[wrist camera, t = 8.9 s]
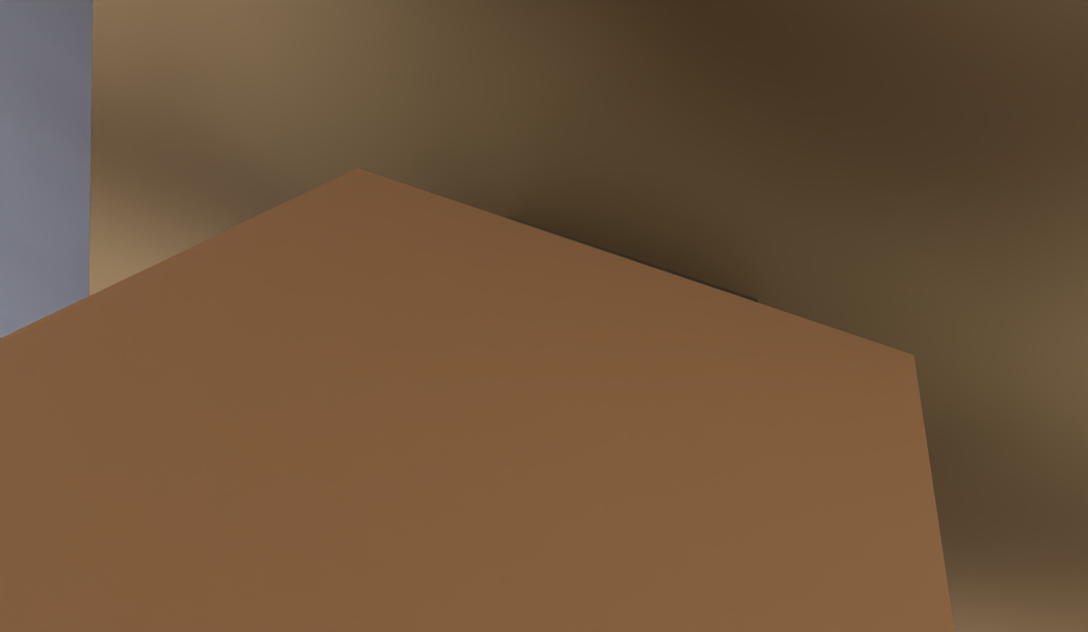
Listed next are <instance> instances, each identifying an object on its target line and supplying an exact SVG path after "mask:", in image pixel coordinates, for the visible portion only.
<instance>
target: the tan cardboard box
mask: <svg viewBox="0 0 1088 632" xmlns="http://www.w3.org/2000/svg"><path fill="white" fill-rule="evenodd" d="M0 632H955V630H954V624H953V617H952V610H951V603H950V596H949V590H948V583H947V576H946V569H945V562H944V556H943V549H942V542H941V535H940V528H939V522H938V515H937V508H936V501H935V494H934V488H933V481H932V474H931V467H930V460H929V454H928V447H927V440H926V433H925V426H924V420H923V413H922V406H921V399H920V392H919V385H918V379H917V372H916V365H915V358H914V355H912V354H909V353H906V352H903V351H900V350H897V349H894V348H891V347H888V346H885V345H882V344H879V343H876V342H873V341H871V340H868V339H865V338H862V337H859V336H856V335H853V334H850V333H847V332H844V331H841V330H838V329H835V328H832V327H829V326H826V325H823V324H820V323H817V322H814V321H811V320H808V319H805V318H802V317H799V316H796V315H793V314H790V313H787V312H784V311H781V310H778V309H775V308H772V307H769V306H766V305H763V304H760V303H757V302H754V301H752V300H749V299H746V298H743V297H740V296H737V295H734V294H731V293H728V292H725V291H722V290H719V289H716V288H713V287H710V286H707V285H704V284H701V283H698V282H695V281H692V280H689V279H686V278H683V277H680V276H677V275H674V274H671V273H668V272H665V271H662V270H659V269H656V268H653V267H650V266H647V265H644V264H641V263H638V262H635V261H633V260H630V259H627V258H624V257H621V256H618V255H615V254H612V253H609V252H606V251H603V250H600V249H597V248H594V247H591V246H588V245H585V244H582V243H579V242H576V241H573V240H570V239H567V238H564V237H561V236H558V235H555V234H552V233H549V232H546V231H543V230H540V229H537V228H534V227H531V226H528V225H525V224H522V223H519V222H516V221H514V220H511V219H508V218H505V217H502V216H499V215H496V214H493V213H490V212H487V211H484V210H481V209H478V208H475V207H472V206H469V205H466V204H463V203H460V202H457V201H454V200H451V199H448V198H445V197H442V196H439V195H436V194H433V193H430V192H427V191H424V190H421V189H418V188H415V187H412V186H409V185H406V184H403V183H400V182H397V181H395V180H392V179H389V178H386V177H383V176H380V175H377V174H374V173H371V172H368V171H365V170H362V169H359V168H356V169H354V170H352V171H350V172H348V173H346V174H344V175H342V176H340V177H338V178H336V179H333V180H331V181H329V182H327V183H325V184H323V185H321V186H319V187H317V188H315V189H312V190H310V191H308V192H306V193H304V194H302V195H300V196H298V197H296V198H294V199H292V200H289V201H287V202H285V203H283V204H281V205H279V206H277V207H275V208H273V209H271V210H269V211H266V212H264V213H262V214H260V215H258V216H256V217H254V218H252V219H250V220H248V221H246V222H243V223H241V224H239V225H237V226H235V227H233V228H231V229H229V230H227V231H225V232H222V233H220V234H218V235H216V236H214V237H212V238H210V239H208V240H206V241H204V242H202V243H199V244H197V245H195V246H193V247H191V248H189V249H187V250H185V251H183V252H181V253H179V254H176V255H174V256H172V257H170V258H168V259H166V260H164V261H162V262H160V263H158V264H155V265H153V266H151V267H149V268H147V269H145V270H143V271H141V272H139V273H137V274H135V275H132V276H130V277H128V278H126V279H124V280H122V281H120V282H118V283H116V284H114V285H112V286H109V287H107V288H105V289H103V290H101V291H99V292H97V293H95V294H93V295H91V296H89V297H86V298H84V299H82V300H80V301H78V302H76V303H74V304H72V305H70V306H68V307H65V308H63V309H61V310H59V311H57V312H55V313H53V314H51V315H49V316H47V317H45V318H42V319H40V320H38V321H36V322H34V323H32V324H30V325H28V326H26V327H24V328H22V329H19V330H17V331H15V332H13V333H11V334H9V335H7V336H5V337H3V338H1V339H0Z"/></svg>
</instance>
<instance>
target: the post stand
mask: <svg viewBox="0 0 1088 632" xmlns="http://www.w3.org/2000/svg"><path fill="white" fill-rule="evenodd" d="M356 168H359V169H362V170H365V171H368V172H371V173H374V174H377V175H380V176H383V177H386V178H389V179H392V180H395V181H397V182H400V183H403V184H406V185H409V186H412V187H415V188H418V189H421V190H424V191H427V192H430V193H433V194H436V195H439V196H442V197H445V198H448V199H451V200H454V201H457V202H460V203H463V204H466V205H469V206H472V207H475V208H478V209H481V210H484V211H487V212H490V213H493V214H496V215H499V216H502V217H505V218H508V219H511V220H514V221H516V222H519V223H522V224H525V225H528V226H531V227H534V228H537V229H540V230H543V231H546V232H549V233H552V234H555V235H558V236H561V237H564V238H567V239H570V240H573V241H576V242H579V243H582V244H585V245H588V246H591V247H594V248H597V249H600V250H603V251H606V252H609V253H612V254H615V255H618V256H621V257H624V258H627V259H630V260H633V261H635V262H638V263H641V264H644V265H647V266H650V267H653V268H656V269H659V270H662V271H665V272H668V273H671V274H674V275H677V276H680V277H683V278H686V279H689V280H692V281H695V282H698V283H701V284H704V285H707V286H710V287H713V288H716V289H719V290H722V291H725V292H728V293H731V294H734V295H737V296H740V297H743V298H746V299H749V300H752V301H754V302H757V303H760V304H763V305H766V306H769V307H772V308H775V309H778V310H781V311H784V312H787V313H790V314H793V315H796V316H799V317H802V318H805V319H808V320H811V321H814V322H817V323H820V324H823V325H826V326H829V327H832V328H835V329H838V330H841V331H844V332H847V333H850V334H853V335H856V336H859V337H862V338H865V339H868V340H871V341H873V342H876V343H879V344H882V345H885V346H888V347H891V348H894V349H897V350H900V351H903V352H906V353H909V354H912V355H914V358H915V365H916V372H917V379H918V385H919V392H920V399H921V406H922V413H923V420H924V426H925V433H926V440H927V447H928V454H929V460H930V467H931V474H932V481H933V488H934V494H935V501H936V508H937V515H938V522H939V528H940V535H941V542H942V549H943V556H944V562H945V569H946V576H947V583H948V590H949V596H950V603H951V610H952V617H953V624H954V630H955V632H1088V0H93V35H92V110H91V185H90V260H89V296H91V295H93V294H95V293H97V292H99V291H101V290H103V289H105V288H107V287H109V286H112V285H114V284H116V283H118V282H120V281H122V280H124V279H126V278H128V277H130V276H132V275H135V274H137V273H139V272H141V271H143V270H145V269H147V268H149V267H151V266H153V265H155V264H158V263H160V262H162V261H164V260H166V259H168V258H170V257H172V256H174V255H176V254H179V253H181V252H183V251H185V250H187V249H189V248H191V247H193V246H195V245H197V244H199V243H202V242H204V241H206V240H208V239H210V238H212V237H214V236H216V235H218V234H220V233H222V232H225V231H227V230H229V229H231V228H233V227H235V226H237V225H239V224H241V223H243V222H246V221H248V220H250V219H252V218H254V217H256V216H258V215H260V214H262V213H264V212H266V211H269V210H271V209H273V208H275V207H277V206H279V205H281V204H283V203H285V202H287V201H289V200H292V199H294V198H296V197H298V196H300V195H302V194H304V193H306V192H308V191H310V190H312V189H315V188H317V187H319V186H321V185H323V184H325V183H327V182H329V181H331V180H333V179H336V178H338V177H340V176H342V175H344V174H346V173H348V172H350V171H352V170H354V169H356Z"/></svg>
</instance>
